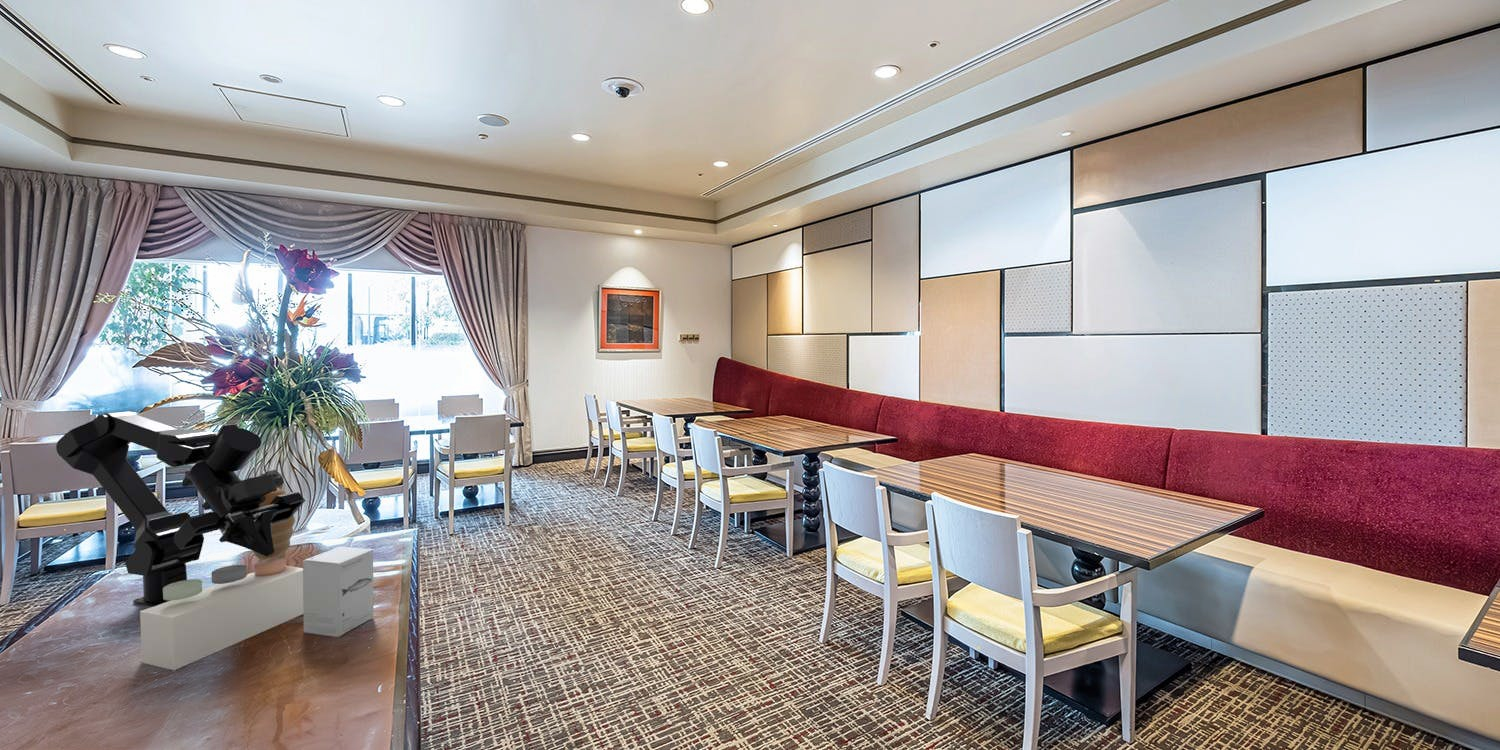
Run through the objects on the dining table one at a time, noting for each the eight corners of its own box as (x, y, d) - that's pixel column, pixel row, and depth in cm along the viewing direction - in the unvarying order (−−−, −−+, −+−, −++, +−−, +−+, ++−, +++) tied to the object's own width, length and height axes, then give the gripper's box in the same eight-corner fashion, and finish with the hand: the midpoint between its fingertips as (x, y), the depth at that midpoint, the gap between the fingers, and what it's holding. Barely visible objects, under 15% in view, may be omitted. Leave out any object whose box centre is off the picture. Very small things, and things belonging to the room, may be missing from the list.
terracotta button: (248, 573, 103) (247, 565, 103) (274, 564, 108) (274, 556, 107) (266, 576, 102) (266, 568, 102) (292, 567, 106) (292, 559, 106)
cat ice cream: (277, 559, 132) (275, 479, 131) (306, 562, 130) (304, 481, 129) (235, 574, 123) (233, 489, 122) (266, 577, 122) (264, 491, 121)
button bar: (141, 662, 90) (140, 611, 89) (278, 606, 109) (277, 564, 108) (174, 670, 88) (172, 617, 87) (307, 612, 107) (306, 568, 107)
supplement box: (339, 638, 98) (337, 563, 97) (302, 633, 99) (300, 559, 99) (375, 618, 105) (374, 548, 105) (340, 613, 107) (339, 545, 106)
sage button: (155, 598, 91) (155, 588, 91) (189, 586, 95) (189, 577, 95) (175, 602, 90) (175, 592, 89) (209, 590, 94) (208, 581, 94)
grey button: (204, 581, 97) (204, 572, 97) (234, 572, 101) (234, 563, 101) (224, 585, 96) (223, 576, 96) (253, 575, 100) (253, 566, 100)
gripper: (183, 469, 96) (237, 542, 94) (296, 449, 114) (343, 510, 112) (150, 513, 98) (202, 585, 96) (266, 487, 116) (311, 547, 114)
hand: (270, 554), depth 105 cm, fingers closed
